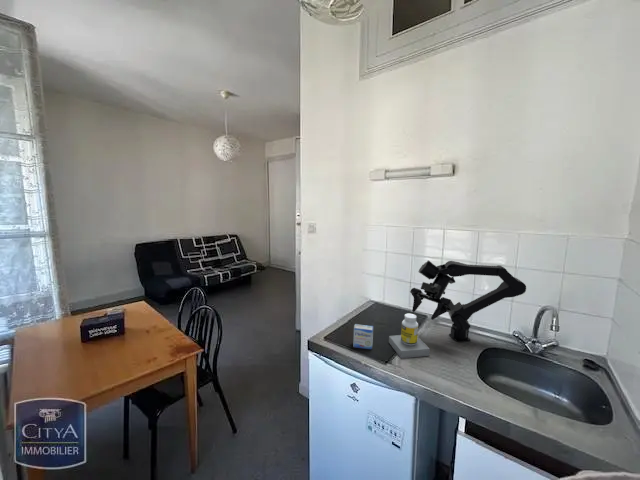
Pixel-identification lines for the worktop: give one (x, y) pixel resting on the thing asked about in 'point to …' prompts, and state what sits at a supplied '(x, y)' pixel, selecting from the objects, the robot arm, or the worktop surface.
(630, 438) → the worktop surface
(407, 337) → the pill bottle
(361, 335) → the medicine box
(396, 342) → the riser
